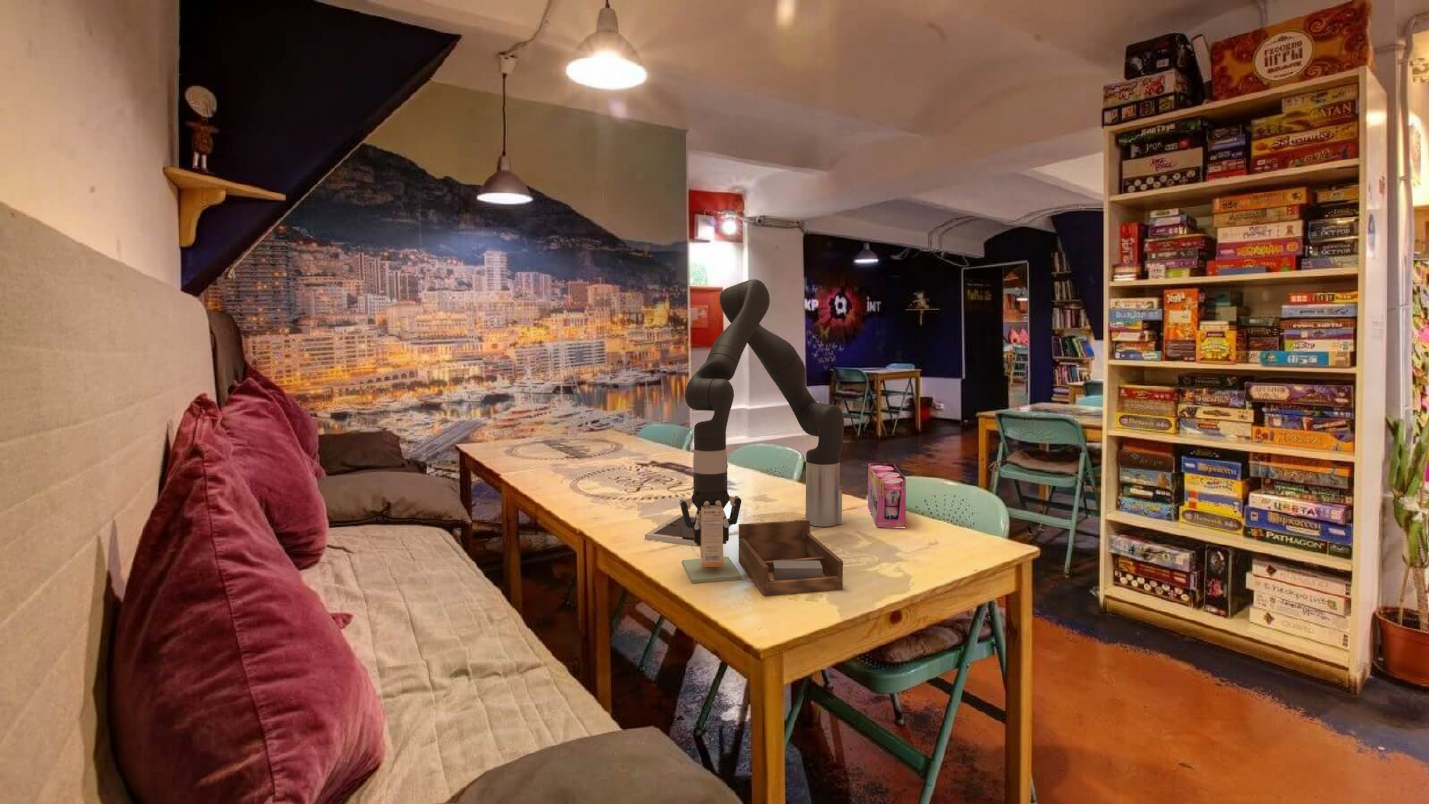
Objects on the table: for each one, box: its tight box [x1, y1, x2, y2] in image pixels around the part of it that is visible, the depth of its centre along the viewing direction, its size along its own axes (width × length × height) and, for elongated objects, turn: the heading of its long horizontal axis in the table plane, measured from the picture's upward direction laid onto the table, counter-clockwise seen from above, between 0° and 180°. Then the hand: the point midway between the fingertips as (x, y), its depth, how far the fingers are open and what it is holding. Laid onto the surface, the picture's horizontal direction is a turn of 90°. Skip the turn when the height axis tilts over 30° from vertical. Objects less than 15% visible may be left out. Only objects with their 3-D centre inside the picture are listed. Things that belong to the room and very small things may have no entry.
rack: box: [738, 519, 844, 597], centre depth 151 cm, size 17×21×9 cm
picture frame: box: [644, 514, 698, 547], centre depth 184 cm, size 16×3×21 cm
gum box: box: [867, 463, 907, 528], centre depth 196 cm, size 24×8×14 cm, turn 174°
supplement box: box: [699, 505, 724, 567], centre depth 153 cm, size 8×5×13 cm, turn 5°
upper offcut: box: [773, 561, 823, 580], centre depth 145 cm, size 10×5×2 cm, turn 89°
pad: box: [681, 556, 743, 584], centre depth 154 cm, size 11×13×1 cm
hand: (710, 543), depth 153 cm, fingers closed on supplement box, 5 cm apart
